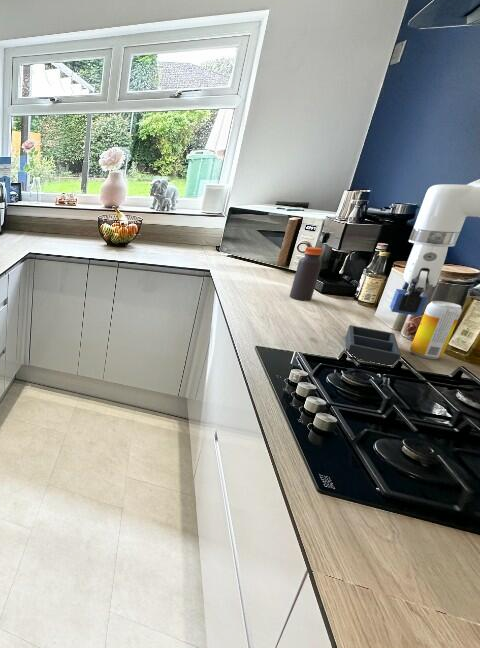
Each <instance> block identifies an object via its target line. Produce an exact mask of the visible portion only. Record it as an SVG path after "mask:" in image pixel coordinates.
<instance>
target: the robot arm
mask: <svg viewBox="0 0 480 648" xmlns="http://www.w3.org/2000/svg"><path fill="white" fill-rule="evenodd" d="M468 217H473V218H474V217H475V218H480V178H479V179H476V180H473V181H471V182H469V183H467V184H456V183H454V184H453V183H445V184H444V183H439V184H434V185H431V186H430V187H429V188H428V189H427V191H426V193H425V196H424V198H423V200H422V203H421V205H420V209H419V212H418V214H417V217H416V220H415V223H414V225H413V228H412V231H411V233H410V236H409V239H408V241H407V242H409V243H411V244H413V246H412V248H411V251H410V252H409V253H410V254H409V256H408V259H407V262H406V265H405V268H404V271H403V276H402V277H403V280H404V283H403V285H402V288H401V290H407V291H406V295H403V298H402V300H401V303H400V305H399V308H398V309H399V310H400V311H406V312H412V313H416V312H417V310H418V308H419V305H420V303H421V300H422V296H423V294H424V293H425V290H426V288H427V285H428V286H429V287H431V288H434V287H436V286H437V283H438V281H439V279H440V275H441V272H442V269H443V267H444V263H445V260H446V257H447V253H448V249H449V247H455V246H456V243H457V240H458V238H459V235H460V234H461V231H462V229H463V226H464V223H465V220H466V218H468Z"/></svg>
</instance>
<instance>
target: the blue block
mask: <svg viewBox="0 0 480 648" xmlns="http://www.w3.org/2000/svg"><path fill="white" fill-rule="evenodd" d="M406 291H407V290H403V289H402V288H401V289H400V288H396V289H395V292H394V294H393V297H392V299H391V302H390V305H389V309H390V311H391V313H397V314H402V315H410V316H414V317H415V316H417V317H421V314H422V312H423V310H424V307H425V305H426V303H427V300H428V296H427V294H426V293H425V292H424V294H423V296H422V300H421V303H420V305H419V308H418V310H417V312H416V313H412V312H406V311H400V310H399V309H398V308H399V305H400V303H401V300H402V298H403V295H406Z"/></svg>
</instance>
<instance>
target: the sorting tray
mask: <svg viewBox="0 0 480 648" xmlns="http://www.w3.org/2000/svg"><path fill="white" fill-rule="evenodd" d="M346 349H348V351H349V352H350V353H351V354H353V356H355V357H356V358H358V359H362V360H363V361H362V360H361V361H362V362H367V361H368V362H367V363H371V362H375V363H374V364H376V363H380V364H385V365H393V364H394V363H395V362H396V361H397V360H398V359H399V360H400V358H401V350H400V347H399V344H398V341H397V338H396V334H395V333H394V332H390V331H384V330H379V329H373V328H368V327H362V326H357V325H352V324H350V325H349V326H348V329H347V331H346V334H345V350H346ZM358 359H357V360H358ZM370 361H371V362H370ZM380 364H379V365H380ZM385 365H384V366H385Z"/></svg>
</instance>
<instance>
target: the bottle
mask: <svg viewBox="0 0 480 648" xmlns="http://www.w3.org/2000/svg"><path fill="white" fill-rule="evenodd" d="M322 253H323V248H322V247H317V246H307V247H305V250H304V256H303V257H302V258H300V259H299V260H298V262H297V268H296V270H295V274H294V277H293V282H292V285H291V288H290V293H289V297H290V298H291V297H292V298H291V299H293V298H295V299H294V300H297V299H299V300H298V301H304V300H308V301H311V300H312V299H313V295H314V292H315V289H316V285H317V281H318V277H319V275H320V271H321V268H322V265H323V262H322V260H321V259H320V257H321V255H322Z"/></svg>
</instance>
